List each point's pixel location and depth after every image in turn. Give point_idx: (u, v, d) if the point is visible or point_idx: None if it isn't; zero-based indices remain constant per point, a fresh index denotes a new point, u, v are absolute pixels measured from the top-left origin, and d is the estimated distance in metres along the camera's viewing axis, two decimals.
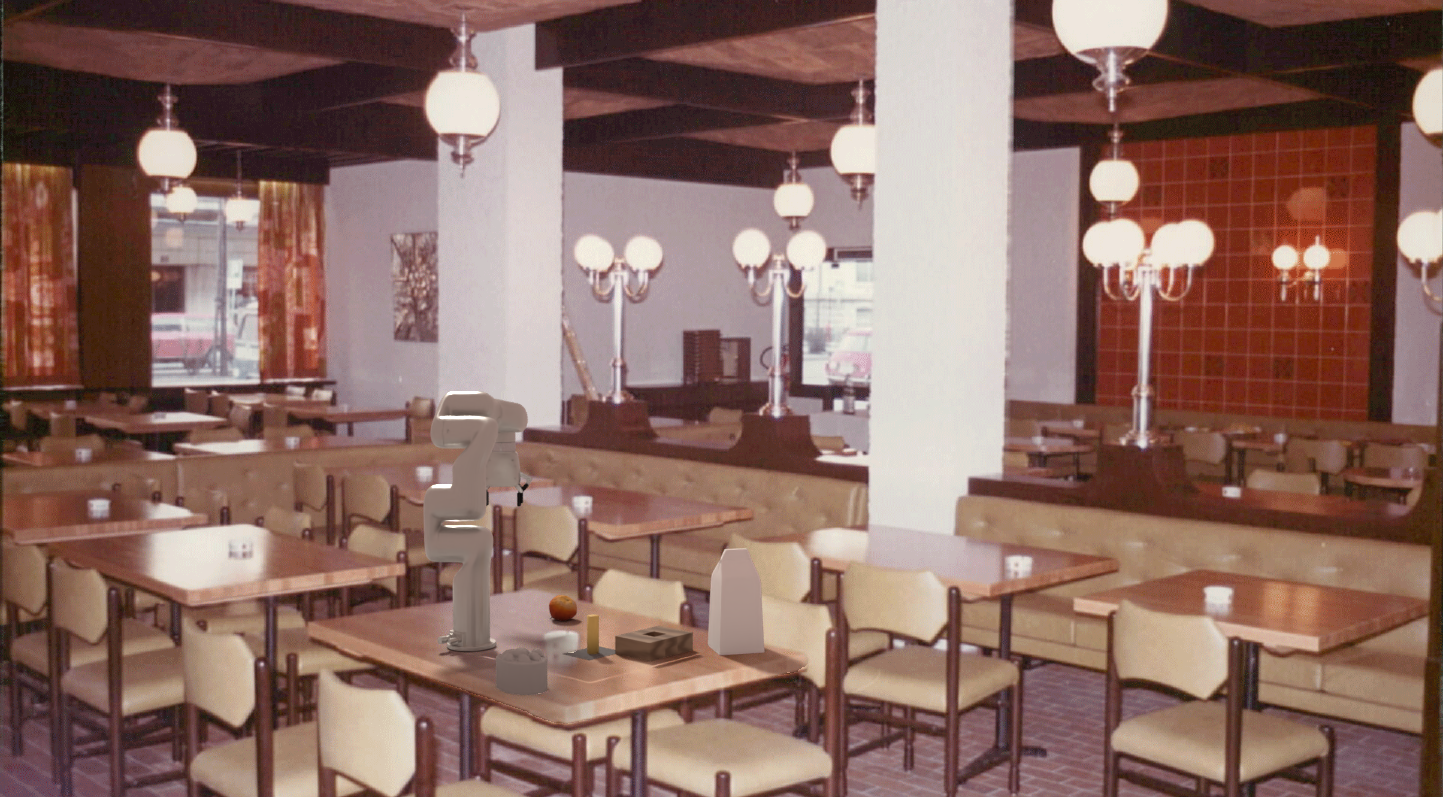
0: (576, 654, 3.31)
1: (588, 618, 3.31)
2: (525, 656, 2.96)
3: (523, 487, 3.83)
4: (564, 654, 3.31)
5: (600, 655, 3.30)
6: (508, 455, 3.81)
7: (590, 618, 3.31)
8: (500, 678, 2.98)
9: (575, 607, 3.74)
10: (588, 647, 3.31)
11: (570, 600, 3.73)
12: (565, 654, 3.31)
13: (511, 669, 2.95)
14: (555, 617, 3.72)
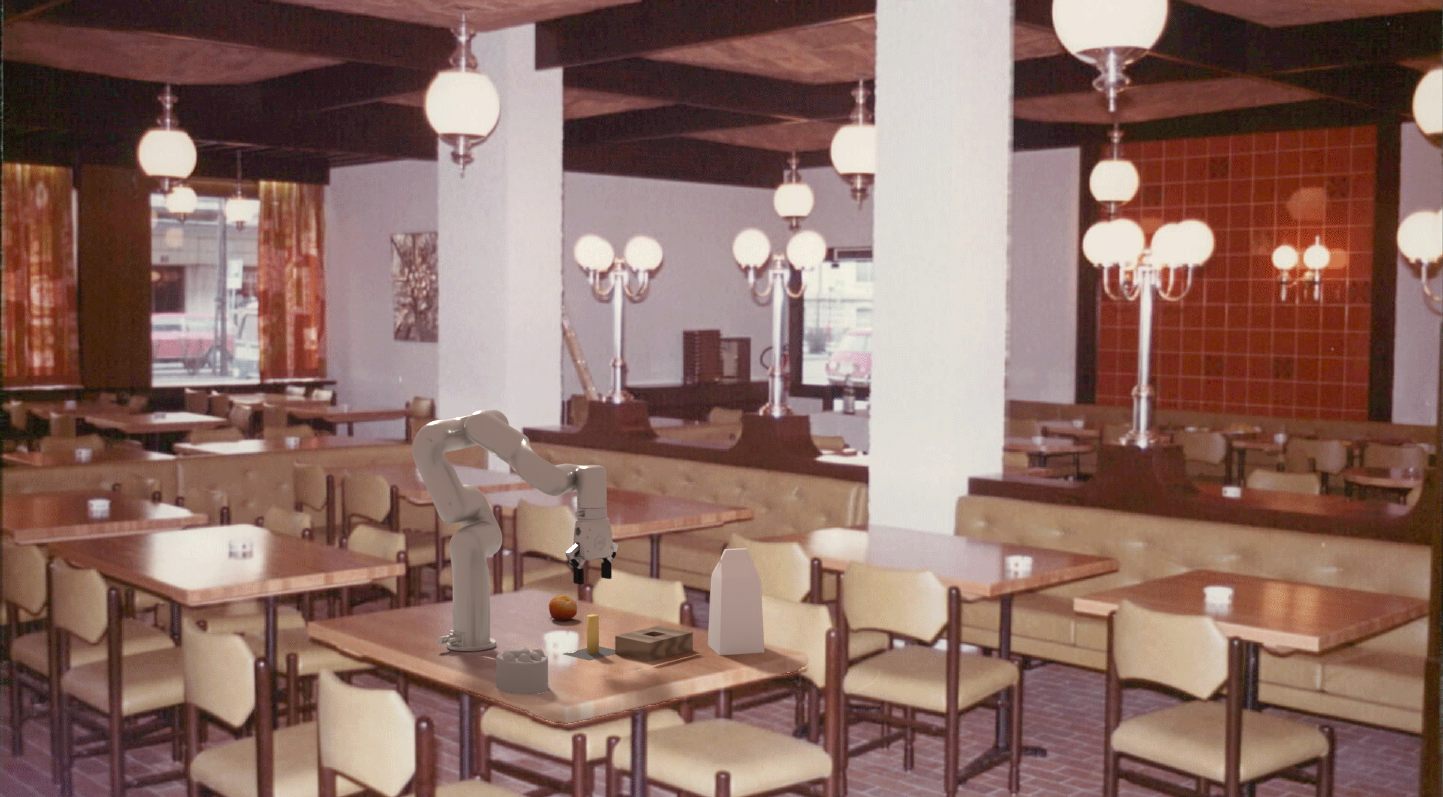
0: (576, 654, 3.31)
1: (588, 618, 3.31)
2: (526, 656, 2.96)
3: (612, 556, 3.36)
4: (564, 654, 3.31)
5: (600, 655, 3.30)
6: (605, 522, 3.32)
7: (590, 618, 3.31)
8: (501, 678, 2.98)
9: (575, 607, 3.74)
10: (588, 647, 3.31)
11: (570, 600, 3.73)
12: (565, 654, 3.31)
13: (511, 669, 2.95)
14: (555, 617, 3.72)
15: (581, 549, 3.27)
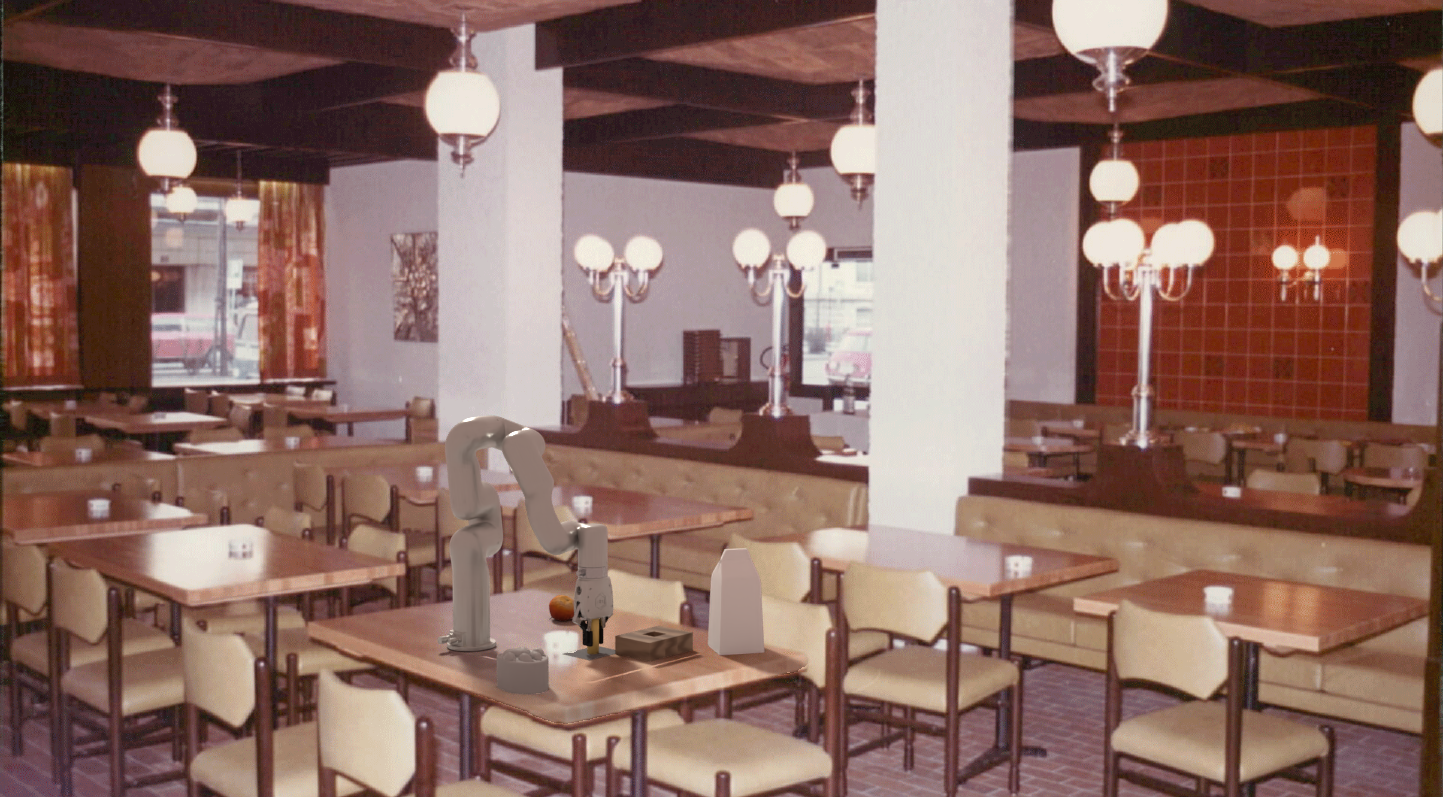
0: (576, 654, 3.31)
1: None
2: (527, 655, 2.96)
3: (605, 623, 3.34)
4: (564, 654, 3.31)
5: (600, 655, 3.30)
6: (606, 581, 3.32)
7: None
8: (502, 677, 2.98)
9: None
10: (588, 647, 3.31)
11: (570, 600, 3.73)
12: (565, 654, 3.31)
13: (512, 668, 2.95)
14: (555, 617, 3.72)
15: (581, 608, 3.27)
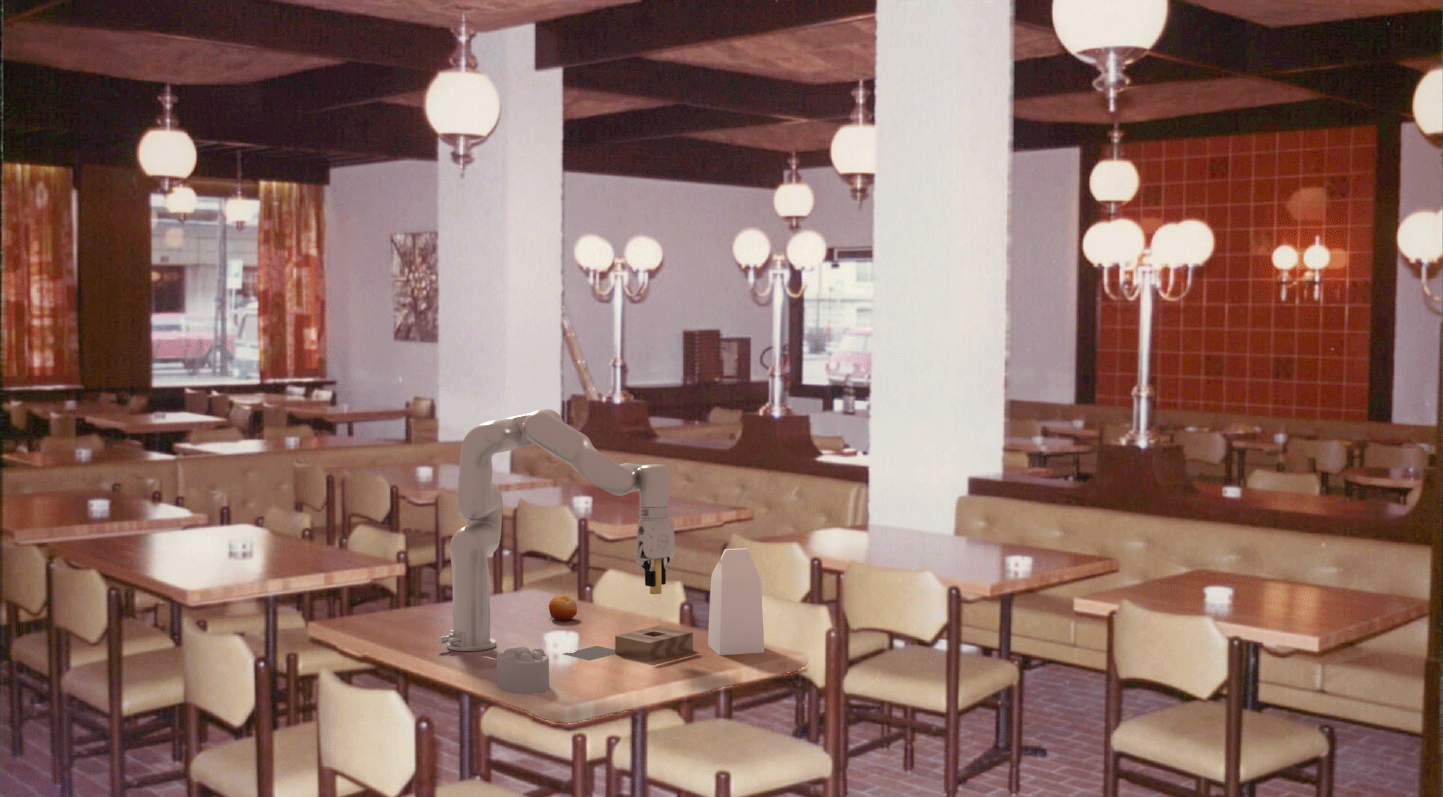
0: (576, 654, 3.31)
1: None
2: (527, 655, 2.97)
3: None
4: (564, 654, 3.31)
5: (600, 655, 3.30)
6: (668, 521, 3.32)
7: None
8: (502, 677, 2.98)
9: (575, 607, 3.74)
10: (651, 587, 3.32)
11: (570, 600, 3.73)
12: (565, 654, 3.31)
13: (513, 668, 2.96)
14: (555, 617, 3.72)
15: (644, 548, 3.28)
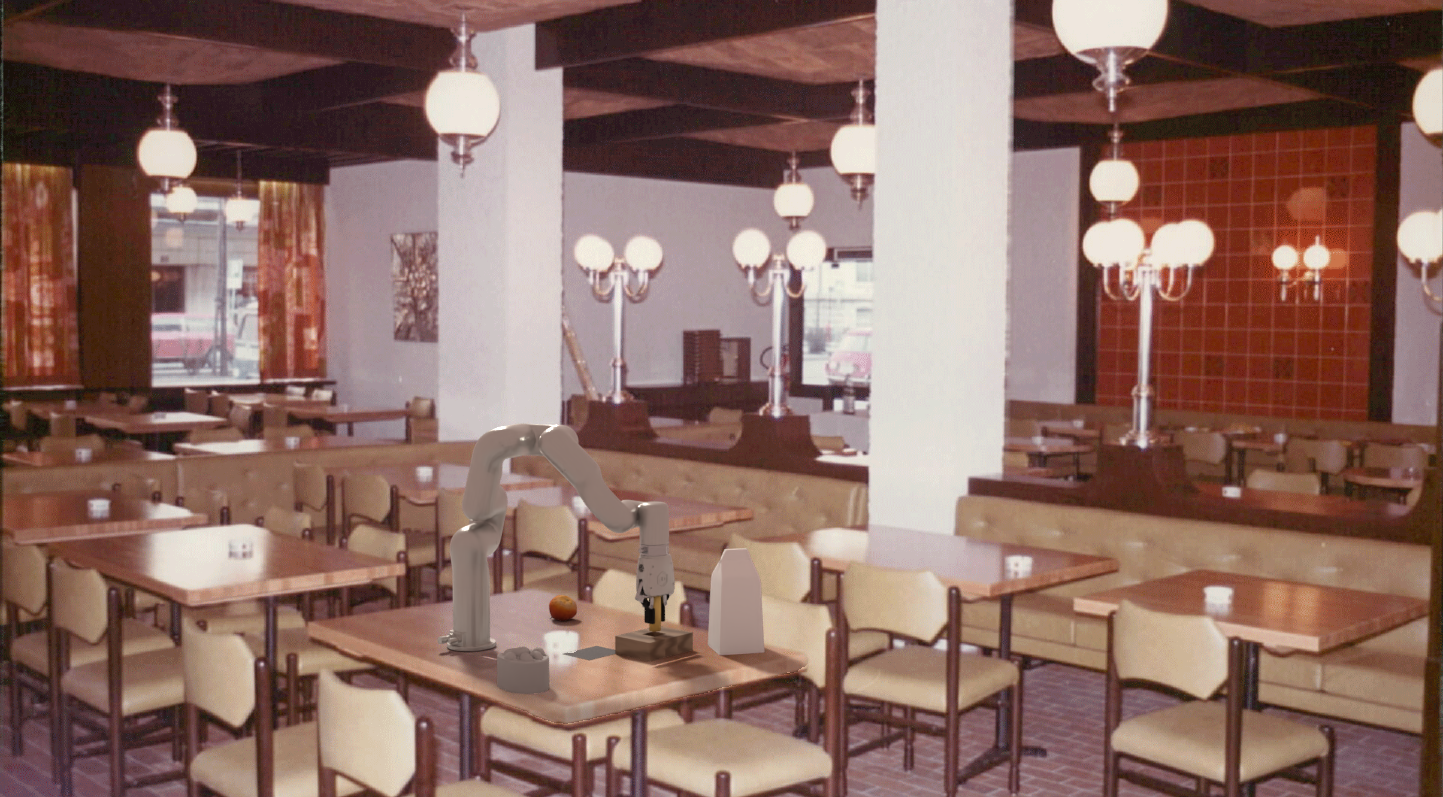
0: (576, 654, 3.31)
1: None
2: (528, 655, 2.97)
3: (666, 601, 3.35)
4: (564, 654, 3.31)
5: (600, 655, 3.30)
6: (667, 558, 3.33)
7: None
8: (502, 677, 2.98)
9: (575, 607, 3.74)
10: (650, 624, 3.32)
11: (570, 600, 3.73)
12: (565, 654, 3.31)
13: (513, 668, 2.96)
14: (555, 617, 3.72)
15: (644, 585, 3.28)
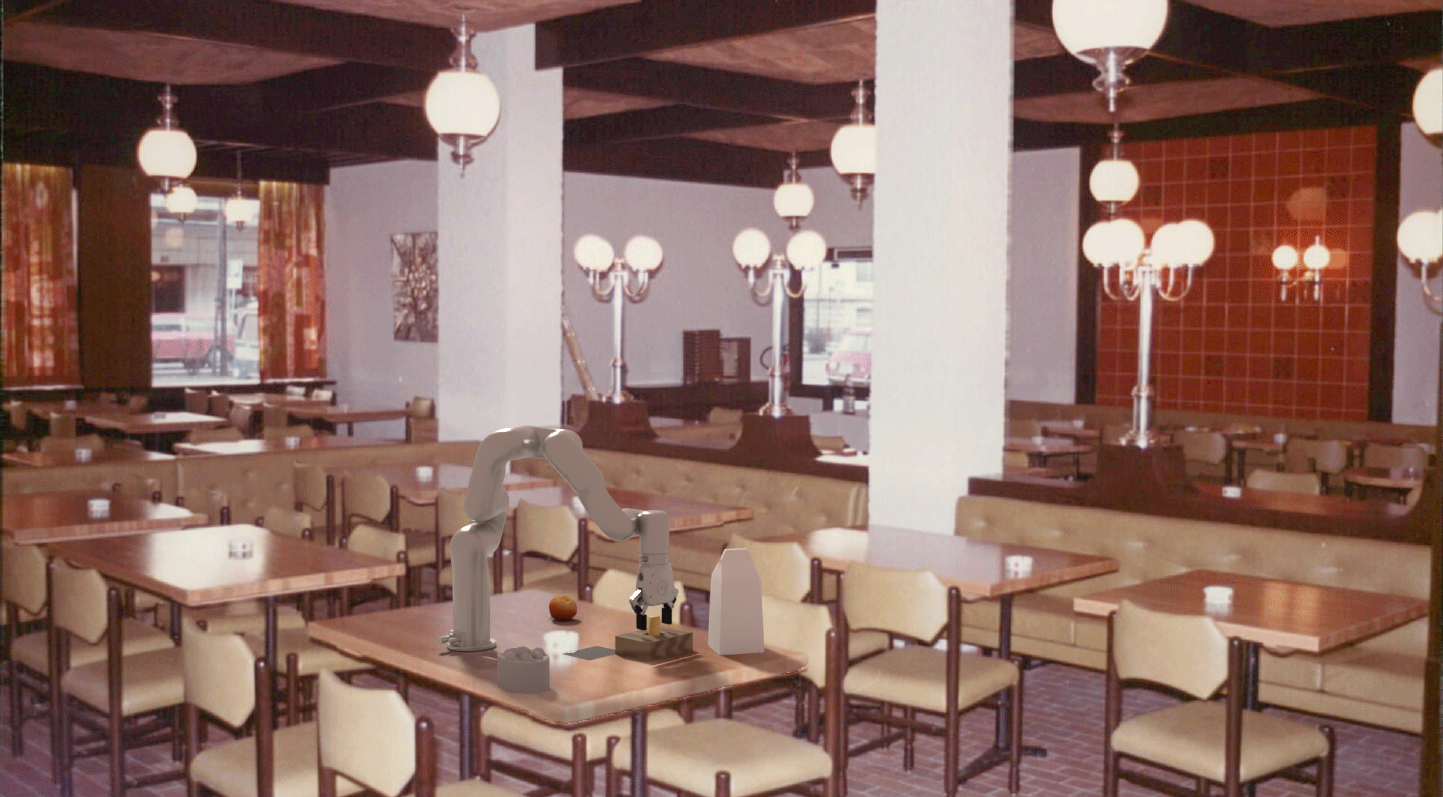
0: (576, 654, 3.31)
1: (649, 619, 3.32)
2: (528, 655, 2.97)
3: (672, 602, 3.37)
4: (564, 654, 3.31)
5: (600, 655, 3.30)
6: (667, 567, 3.33)
7: (651, 619, 3.32)
8: (503, 677, 2.99)
9: (575, 607, 3.74)
10: None
11: (570, 600, 3.73)
12: (565, 654, 3.31)
13: (514, 668, 2.96)
14: (555, 617, 3.72)
15: (643, 594, 3.28)
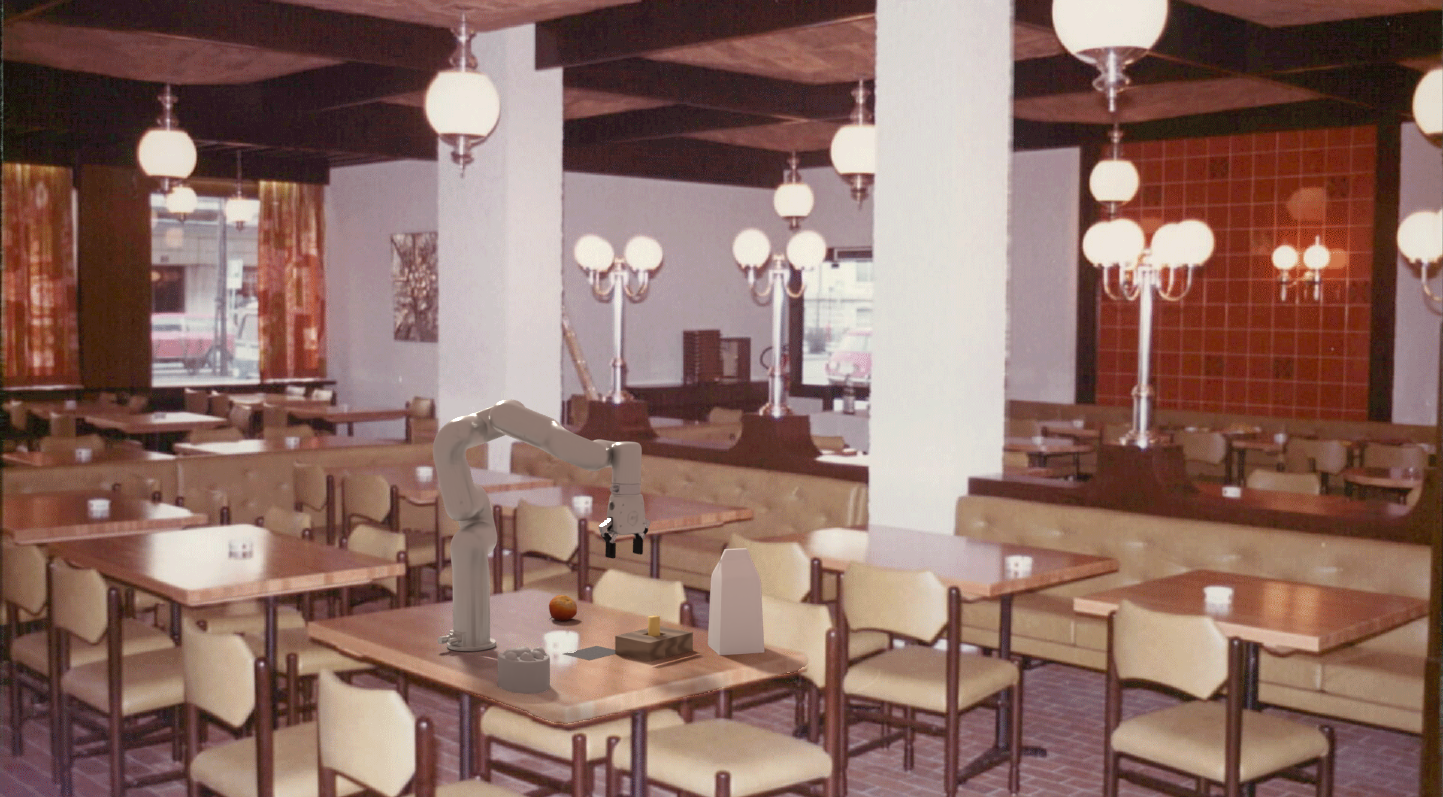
0: (576, 654, 3.31)
1: (649, 619, 3.32)
2: (529, 655, 2.97)
3: (644, 532, 3.41)
4: (564, 654, 3.31)
5: (600, 655, 3.30)
6: (638, 498, 3.37)
7: (651, 619, 3.32)
8: (503, 677, 2.99)
9: (575, 607, 3.74)
10: None
11: (570, 600, 3.73)
12: (565, 654, 3.31)
13: (514, 668, 2.96)
14: (555, 617, 3.72)
15: (614, 523, 3.32)
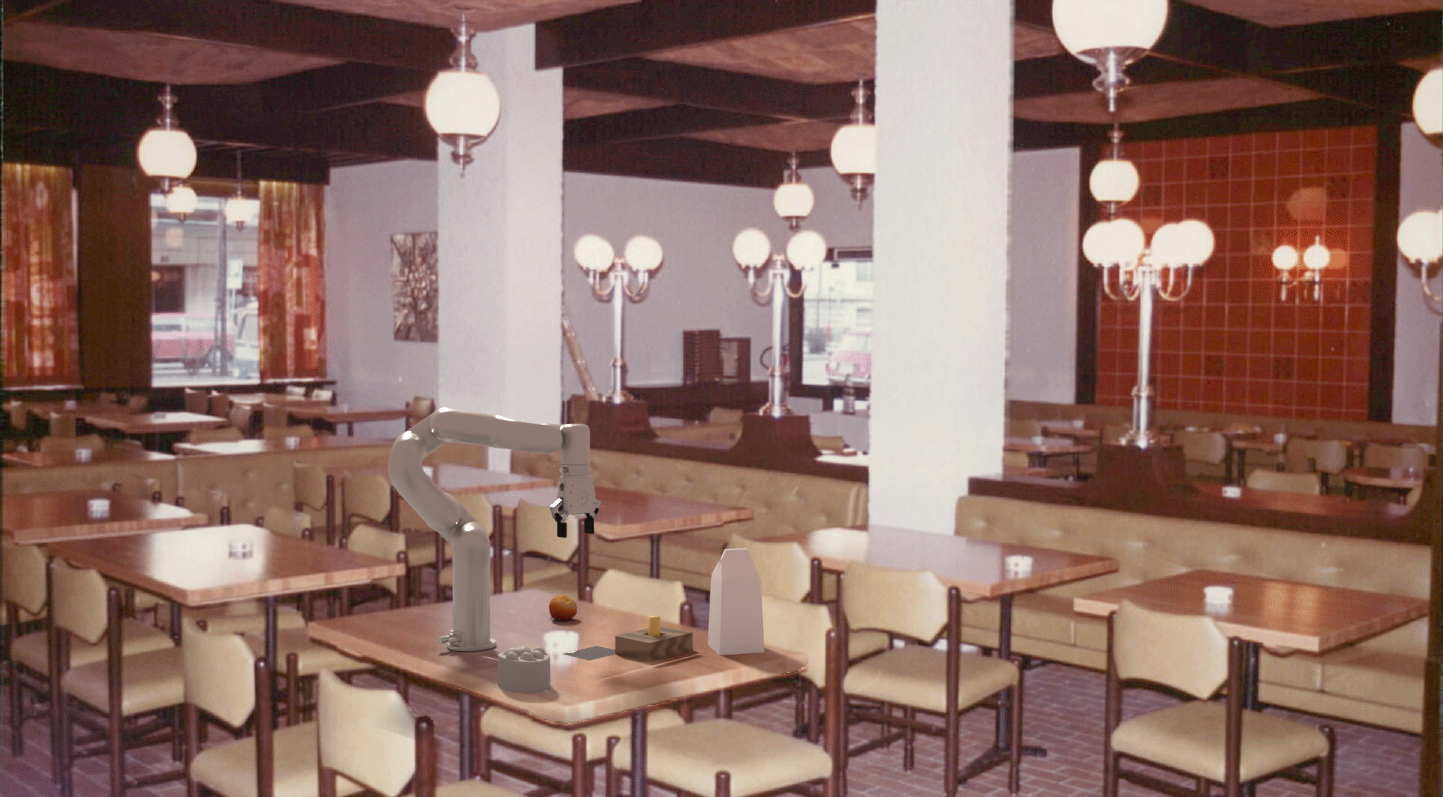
0: (576, 654, 3.31)
1: (649, 619, 3.32)
2: (529, 654, 2.97)
3: (595, 512, 3.50)
4: (564, 654, 3.31)
5: (600, 655, 3.30)
6: (588, 478, 3.45)
7: (651, 619, 3.32)
8: (504, 676, 2.99)
9: (575, 607, 3.74)
10: None
11: (570, 600, 3.73)
12: (565, 654, 3.31)
13: (515, 667, 2.96)
14: (555, 617, 3.72)
15: (564, 503, 3.41)
